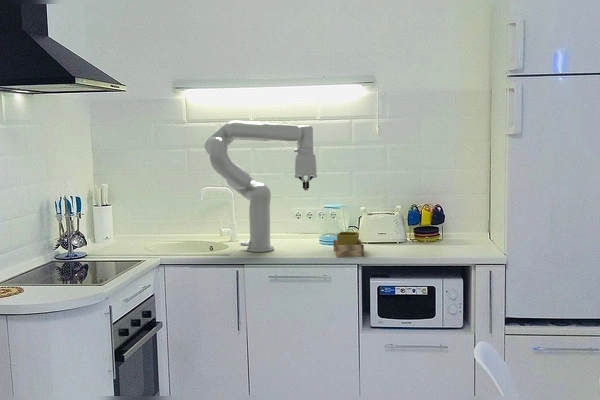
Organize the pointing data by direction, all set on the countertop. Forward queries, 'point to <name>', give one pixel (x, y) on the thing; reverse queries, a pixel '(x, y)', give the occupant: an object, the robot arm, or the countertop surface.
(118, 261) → the countertop surface
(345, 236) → the flower pot
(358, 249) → the frame
